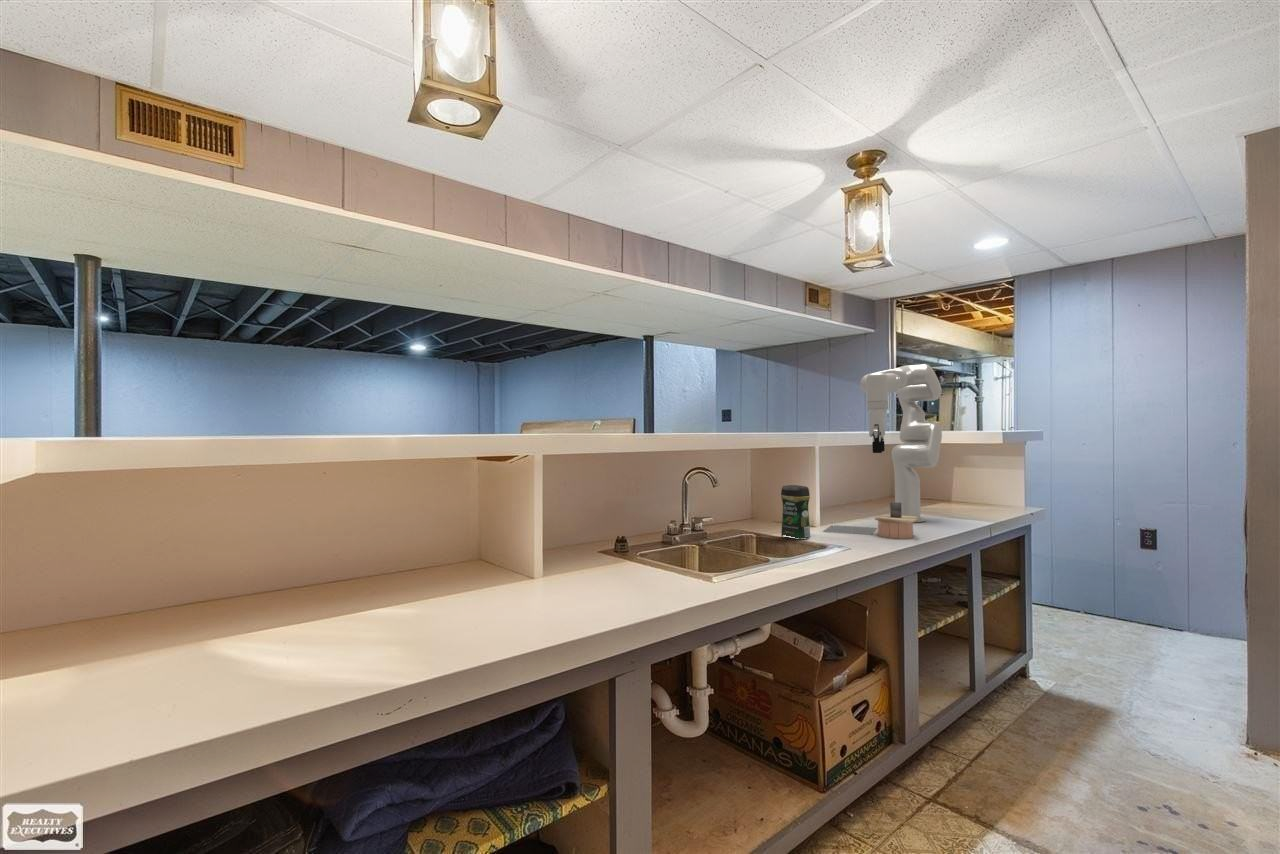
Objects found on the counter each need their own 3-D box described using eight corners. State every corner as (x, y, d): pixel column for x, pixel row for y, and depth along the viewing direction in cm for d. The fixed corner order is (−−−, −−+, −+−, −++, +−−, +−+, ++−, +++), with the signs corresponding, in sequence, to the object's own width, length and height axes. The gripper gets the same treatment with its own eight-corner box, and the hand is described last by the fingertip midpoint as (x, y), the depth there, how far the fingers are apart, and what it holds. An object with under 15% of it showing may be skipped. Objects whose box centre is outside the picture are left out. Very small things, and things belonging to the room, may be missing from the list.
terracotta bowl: (880, 533, 213) (880, 516, 214) (914, 535, 208) (913, 518, 208) (876, 538, 204) (876, 521, 204) (911, 540, 199) (911, 522, 199)
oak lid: (877, 516, 216) (876, 499, 216) (919, 518, 209) (918, 501, 209) (872, 521, 203) (871, 504, 203) (916, 523, 197) (916, 505, 197)
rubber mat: (831, 526, 230) (831, 525, 230) (877, 529, 222) (877, 527, 222) (822, 533, 216) (822, 531, 216) (871, 536, 207) (871, 534, 207)
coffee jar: (777, 537, 208) (776, 484, 209) (792, 534, 213) (791, 483, 213) (799, 541, 201) (798, 486, 201) (814, 538, 205) (813, 485, 206)
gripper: (869, 407, 229) (870, 450, 229) (863, 406, 213) (865, 453, 213) (890, 406, 225) (891, 450, 225) (886, 405, 210) (887, 453, 210)
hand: (878, 452), depth 219 cm, fingers open, 9 cm apart
